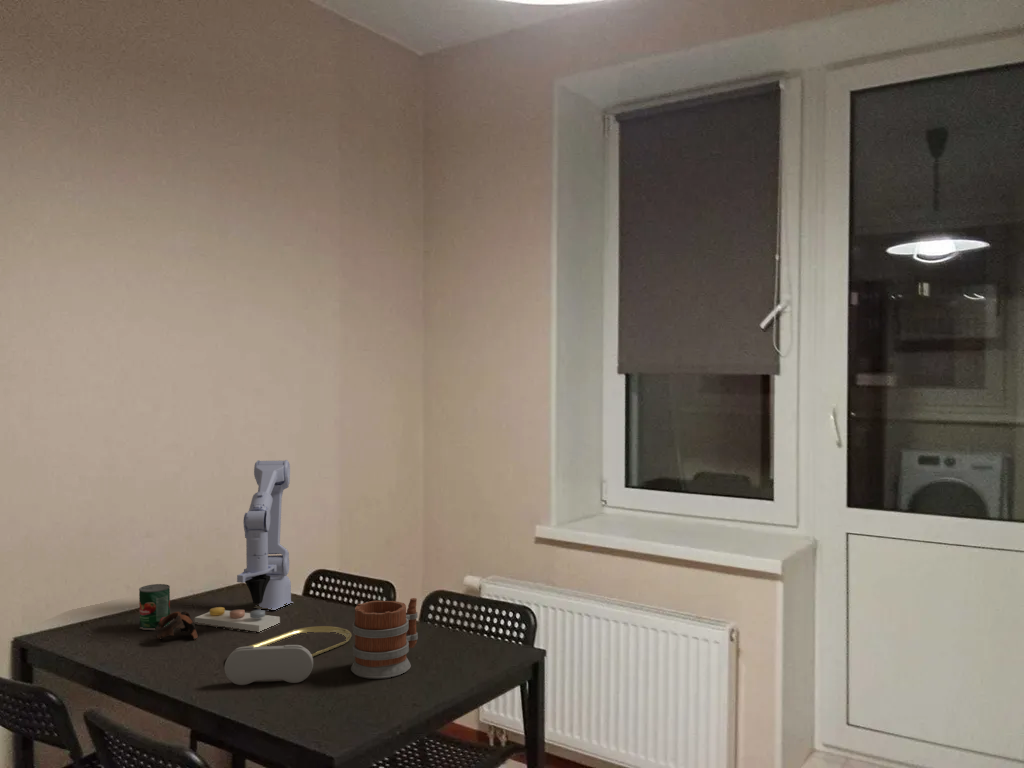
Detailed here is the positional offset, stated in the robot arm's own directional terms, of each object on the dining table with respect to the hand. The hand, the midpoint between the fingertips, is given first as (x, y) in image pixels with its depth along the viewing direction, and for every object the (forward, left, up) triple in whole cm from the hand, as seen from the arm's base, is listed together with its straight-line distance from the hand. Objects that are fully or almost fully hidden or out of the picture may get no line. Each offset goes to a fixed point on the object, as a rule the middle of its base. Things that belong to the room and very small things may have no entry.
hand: (257, 602), depth 234 cm
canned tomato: (+10, -27, -7) cm, 30 cm away
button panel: (0, -7, -7) cm, 10 cm away
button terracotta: (0, -7, -5) cm, 9 cm away
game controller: (+34, +30, -7) cm, 46 cm away
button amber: (0, -14, -4) cm, 15 cm away
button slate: (0, 0, -5) cm, 5 cm away
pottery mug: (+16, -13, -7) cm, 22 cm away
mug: (+15, +50, -7) cm, 53 cm away
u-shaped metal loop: (+13, +21, -7) cm, 26 cm away
